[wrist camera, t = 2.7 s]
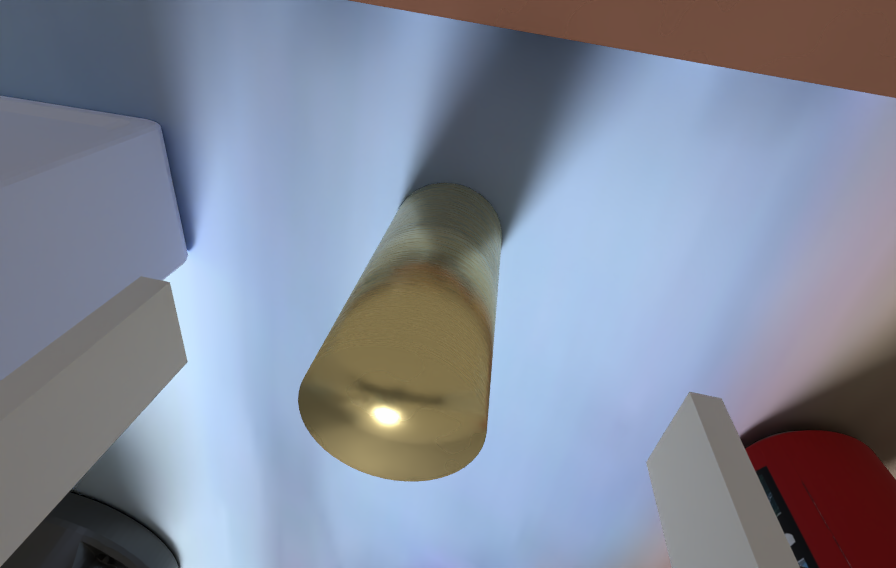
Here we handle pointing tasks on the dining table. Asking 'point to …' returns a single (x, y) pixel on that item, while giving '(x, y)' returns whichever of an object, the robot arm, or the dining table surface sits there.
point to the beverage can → (829, 498)
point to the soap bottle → (77, 218)
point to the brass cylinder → (413, 344)
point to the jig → (712, 32)
